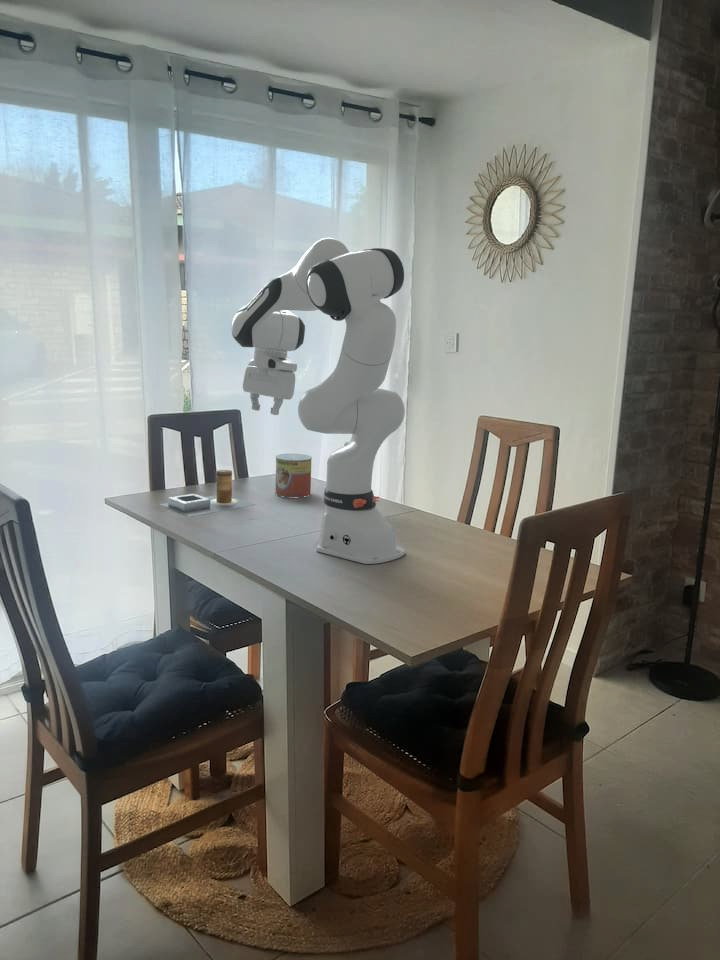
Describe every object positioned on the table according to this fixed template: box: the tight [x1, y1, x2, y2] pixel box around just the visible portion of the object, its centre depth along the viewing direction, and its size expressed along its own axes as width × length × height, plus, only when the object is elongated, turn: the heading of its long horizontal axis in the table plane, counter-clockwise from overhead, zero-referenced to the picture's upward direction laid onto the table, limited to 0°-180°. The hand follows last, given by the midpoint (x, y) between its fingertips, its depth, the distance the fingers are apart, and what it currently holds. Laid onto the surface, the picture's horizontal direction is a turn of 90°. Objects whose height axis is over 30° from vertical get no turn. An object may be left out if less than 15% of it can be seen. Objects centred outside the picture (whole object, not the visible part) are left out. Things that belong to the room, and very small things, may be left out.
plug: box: [216, 469, 233, 503], centre depth 211 cm, size 4×4×9 cm
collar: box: [167, 493, 210, 512], centre depth 204 cm, size 8×8×2 cm
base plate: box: [159, 494, 256, 518], centre depth 208 cm, size 16×22×1 cm
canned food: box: [274, 453, 313, 498], centre depth 229 cm, size 11×11×12 cm
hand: (264, 412), depth 198 cm, fingers open, 8 cm apart
